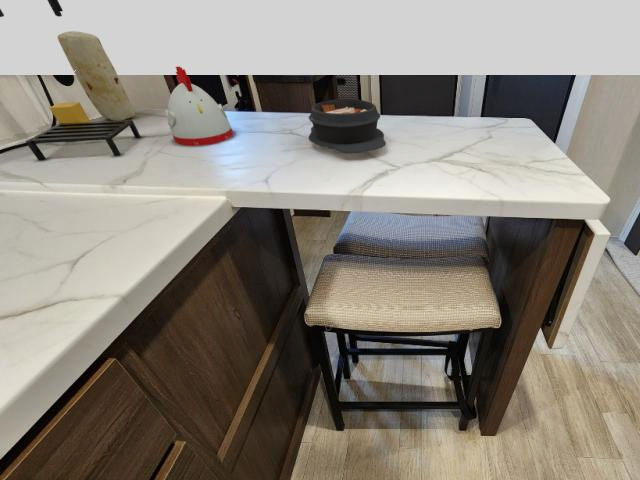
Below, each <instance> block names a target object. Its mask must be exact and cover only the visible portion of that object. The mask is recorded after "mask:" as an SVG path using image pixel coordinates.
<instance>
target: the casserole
mask: <svg viewBox="0 0 640 480" xmlns="http://www.w3.org/2000/svg"><path fill="white" fill-rule="evenodd" d="M380 118H381V114H380V113H379V112H378V109H377V106H376V104H374V103H373V102H370V101H367V100H362V99H353V98H352V99H351V98H339V99H330V100H325V101H320V102H317V103H315V104H313V105H312V106H311V110H310V115H308V120H309V121H310V122H311V123H312V126H311V128H310V133H309V135H308V140H309V142H311V143H312V144H313V145H316V146H318V147H322V148H327V149H330V150H333V151H336V152H338V153H343V154H361V153H366V152H367V153H368V152H372V151H376V150H379V149H381V148H383V147H385V146H386V144H387V142H386V140H385V133H384V132H383V131H382V130H381V129H380V128H378V121H379V120H380Z"/></svg>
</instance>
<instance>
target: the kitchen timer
mask: <svg viewBox="0 0 640 480" xmlns="http://www.w3.org/2000/svg"><path fill="white" fill-rule="evenodd" d="M175 69H176V71H175V73H176V80H177V82H178V84H177V86H176V87H174V89H173V90H172V92H171V94H170V97H169V99H168V106H167V108H165V109H164V111H165V115H166V120H167V124H168V126H169V130H170V133H171V135H172V137H173V140H174V142H175V143H176V144H177V145H180V146H187V147H198V146H199V147H201V146H210V145H214V144H218V143H219V144H220V143H222V142H226V141H227V140H230V139H231V138H233V136H234V132H233V129H232V126H231V123H230V122H229V120H228V116H227V114H226V112H225V109H224V108H223V106H222V104H221V103H217V101H215V99H214V98H213V97H212V96H211V95H209V93H207V92H206V91H205V90H203V88H201V87H200V86H197V85H195V84H193V83H191V79H190V78H191V77H190V76H188V74H187V71H186V69H184V68H183V67H182V66H179V65H178V66H175Z"/></svg>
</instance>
